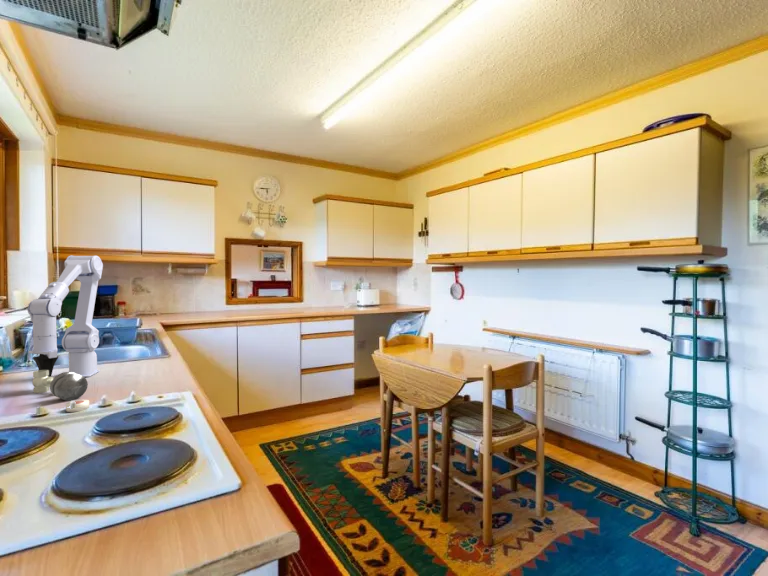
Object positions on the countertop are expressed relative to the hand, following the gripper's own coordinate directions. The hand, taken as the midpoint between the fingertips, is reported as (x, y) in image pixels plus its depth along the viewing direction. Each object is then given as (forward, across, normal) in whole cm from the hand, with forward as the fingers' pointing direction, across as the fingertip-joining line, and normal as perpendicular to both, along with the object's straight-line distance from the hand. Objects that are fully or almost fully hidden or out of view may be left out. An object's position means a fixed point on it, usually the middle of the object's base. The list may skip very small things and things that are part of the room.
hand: (46, 377), depth 129 cm
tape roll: (+3, +33, -2) cm, 33 cm away
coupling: (+3, +20, 0) cm, 20 cm away
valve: (+4, +6, 0) cm, 7 cm away
